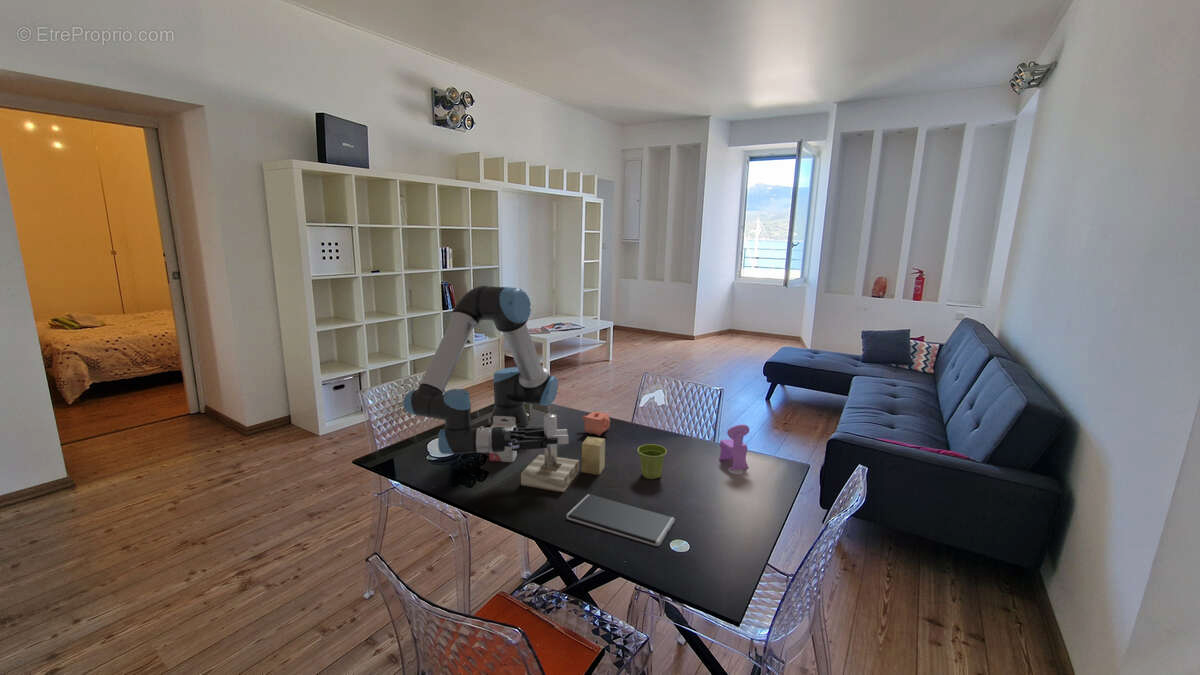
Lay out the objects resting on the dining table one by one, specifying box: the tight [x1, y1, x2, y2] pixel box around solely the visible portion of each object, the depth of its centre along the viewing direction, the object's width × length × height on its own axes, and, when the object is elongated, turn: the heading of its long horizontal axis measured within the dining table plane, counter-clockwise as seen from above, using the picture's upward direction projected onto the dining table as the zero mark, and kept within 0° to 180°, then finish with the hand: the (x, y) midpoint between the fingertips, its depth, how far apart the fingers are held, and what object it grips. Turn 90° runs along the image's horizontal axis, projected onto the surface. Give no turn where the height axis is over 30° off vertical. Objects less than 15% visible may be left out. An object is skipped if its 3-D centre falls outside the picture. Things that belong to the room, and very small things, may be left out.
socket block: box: [520, 454, 580, 493], centre depth 155 cm, size 14×14×4 cm
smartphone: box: [566, 493, 676, 547], centre depth 133 cm, size 13×27×2 cm, turn 63°
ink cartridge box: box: [488, 416, 518, 463], centre depth 168 cm, size 9×5×15 cm, turn 84°
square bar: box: [581, 436, 606, 476], centre depth 161 cm, size 6×6×10 cm
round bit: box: [543, 413, 558, 467], centre depth 153 cm, size 4×4×16 cm
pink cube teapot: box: [581, 410, 611, 437], centre depth 193 cm, size 8×12×8 cm, turn 63°
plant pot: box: [637, 443, 668, 480], centre depth 158 cm, size 9×9×9 cm
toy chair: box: [718, 424, 750, 471], centre depth 166 cm, size 8×9×15 cm
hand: (567, 436), depth 154 cm, fingers closed on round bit, 4 cm apart
